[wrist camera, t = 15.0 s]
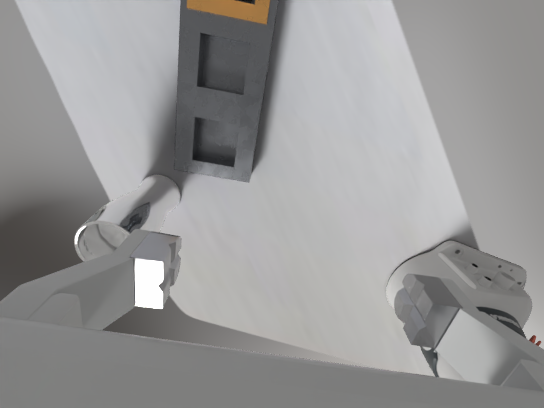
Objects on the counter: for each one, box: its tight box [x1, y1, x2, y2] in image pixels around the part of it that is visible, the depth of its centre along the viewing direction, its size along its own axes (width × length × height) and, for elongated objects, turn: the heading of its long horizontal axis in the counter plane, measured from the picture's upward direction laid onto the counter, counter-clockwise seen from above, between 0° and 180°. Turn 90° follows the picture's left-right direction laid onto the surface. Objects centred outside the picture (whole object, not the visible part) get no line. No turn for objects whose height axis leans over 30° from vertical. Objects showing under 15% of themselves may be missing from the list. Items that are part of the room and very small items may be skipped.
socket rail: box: [174, 0, 279, 183], centre depth 34 cm, size 27×10×4 cm, turn 170°
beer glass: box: [74, 175, 180, 262], centre depth 36 cm, size 7×7×15 cm
